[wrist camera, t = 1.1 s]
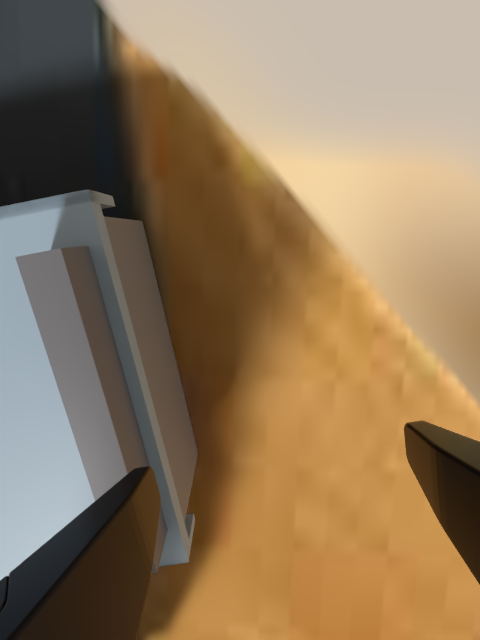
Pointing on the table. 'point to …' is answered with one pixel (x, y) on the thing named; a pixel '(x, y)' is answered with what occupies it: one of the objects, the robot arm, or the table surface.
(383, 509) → the table surface
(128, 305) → the open gray box
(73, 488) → the lid
